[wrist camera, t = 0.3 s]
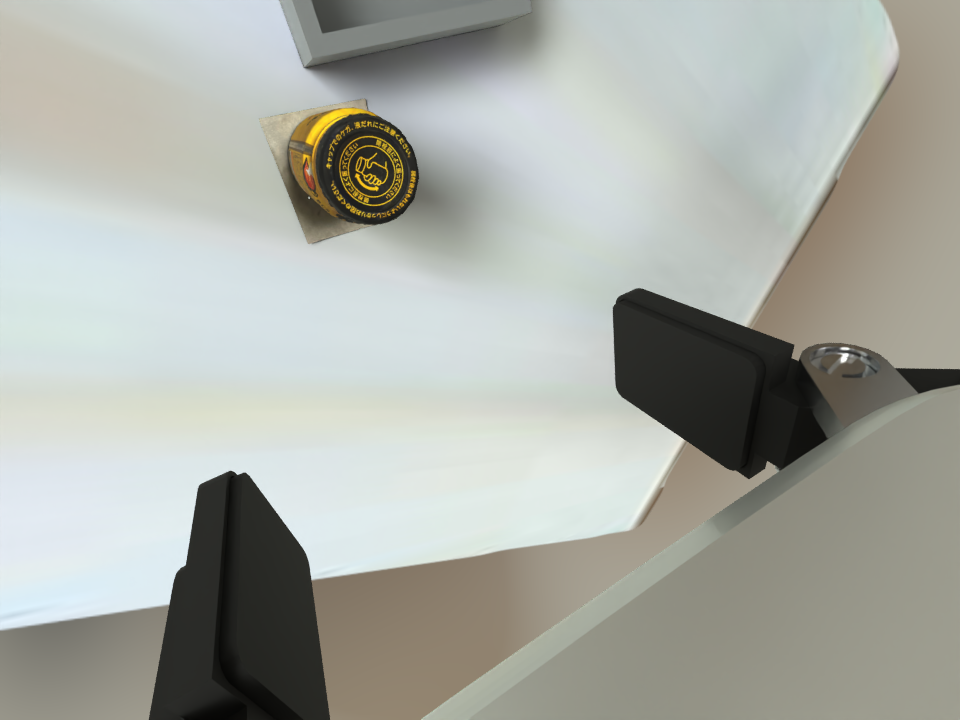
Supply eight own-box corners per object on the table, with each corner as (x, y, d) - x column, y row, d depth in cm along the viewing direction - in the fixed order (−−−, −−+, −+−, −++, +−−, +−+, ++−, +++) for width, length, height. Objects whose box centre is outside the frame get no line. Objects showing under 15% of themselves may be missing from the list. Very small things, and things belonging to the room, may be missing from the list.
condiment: (364, 98, 30) (419, 83, 20) (396, 218, 34) (453, 250, 25) (258, 118, 28) (265, 112, 18) (307, 243, 32) (333, 289, 23)
